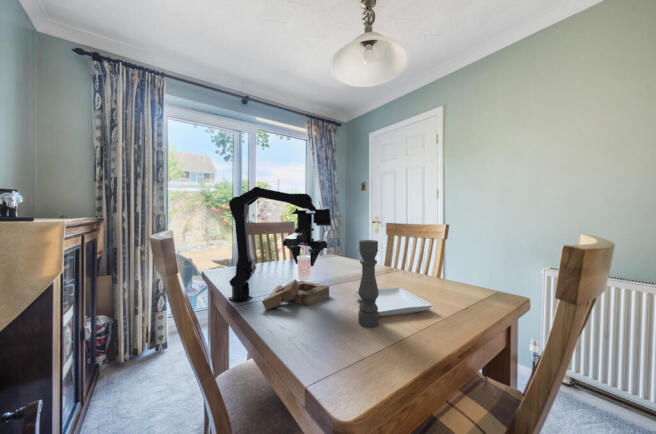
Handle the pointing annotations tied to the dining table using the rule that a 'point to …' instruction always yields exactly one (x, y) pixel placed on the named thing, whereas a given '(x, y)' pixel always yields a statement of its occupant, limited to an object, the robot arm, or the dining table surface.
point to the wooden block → (281, 295)
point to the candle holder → (368, 284)
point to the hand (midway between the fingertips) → (304, 265)
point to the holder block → (310, 293)
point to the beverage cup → (304, 267)
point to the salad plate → (397, 302)
